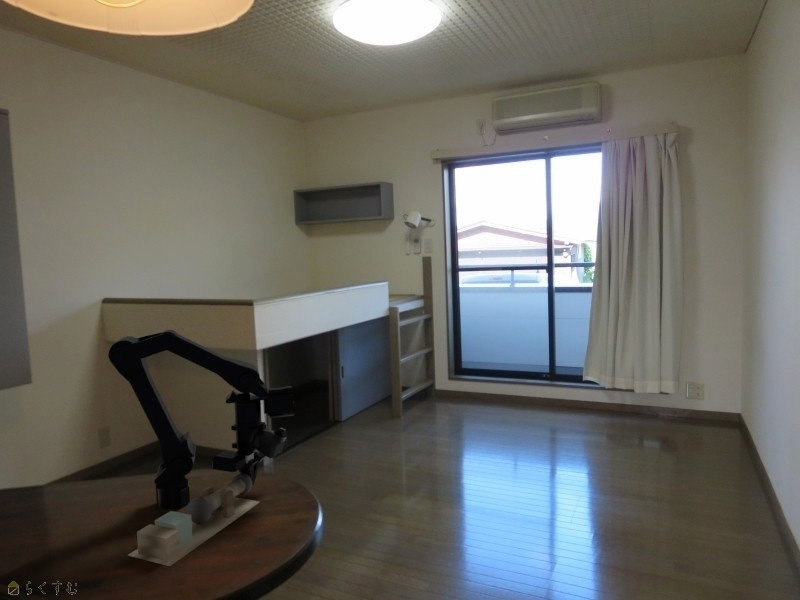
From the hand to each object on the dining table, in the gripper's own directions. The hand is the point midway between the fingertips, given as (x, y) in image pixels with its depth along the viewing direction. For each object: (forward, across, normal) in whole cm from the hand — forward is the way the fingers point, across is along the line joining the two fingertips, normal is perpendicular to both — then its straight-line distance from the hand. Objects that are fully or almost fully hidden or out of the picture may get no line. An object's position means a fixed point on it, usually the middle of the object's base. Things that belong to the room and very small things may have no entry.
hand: (250, 486), depth 123 cm
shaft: (+1, -10, 0) cm, 10 cm away
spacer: (+1, -23, 0) cm, 23 cm away
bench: (+2, -16, 0) cm, 17 cm away
